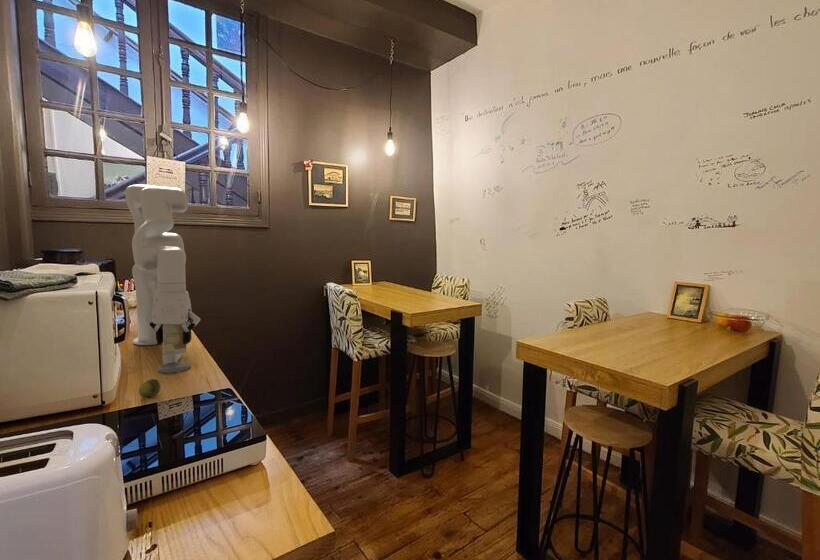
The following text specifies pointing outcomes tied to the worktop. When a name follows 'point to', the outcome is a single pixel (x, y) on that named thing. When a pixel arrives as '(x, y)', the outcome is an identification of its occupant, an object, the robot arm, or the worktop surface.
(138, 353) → the worktop surface
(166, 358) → the photo printer
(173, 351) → the skincare box
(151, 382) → the lime
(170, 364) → the coaster
